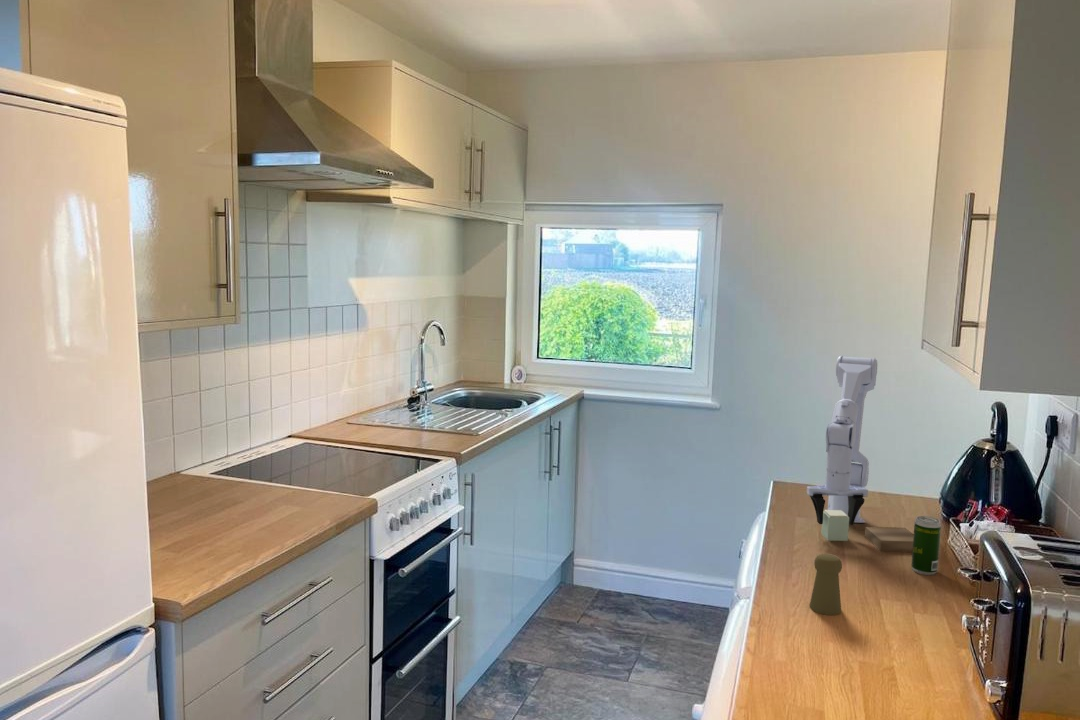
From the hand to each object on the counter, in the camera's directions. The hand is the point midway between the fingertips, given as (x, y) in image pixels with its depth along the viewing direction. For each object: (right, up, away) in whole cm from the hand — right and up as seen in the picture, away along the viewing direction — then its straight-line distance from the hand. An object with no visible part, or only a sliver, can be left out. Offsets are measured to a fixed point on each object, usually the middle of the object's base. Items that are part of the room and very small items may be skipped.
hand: (835, 523), depth 198 cm
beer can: (+12, -7, -21) cm, 25 cm away
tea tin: (0, -4, +1) cm, 4 cm away
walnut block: (+13, -5, -4) cm, 14 cm away
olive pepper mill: (-17, -9, -41) cm, 45 cm away
